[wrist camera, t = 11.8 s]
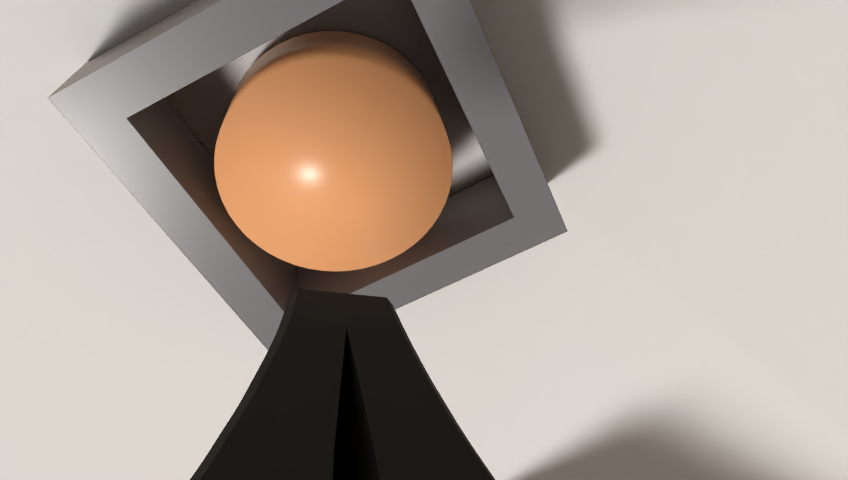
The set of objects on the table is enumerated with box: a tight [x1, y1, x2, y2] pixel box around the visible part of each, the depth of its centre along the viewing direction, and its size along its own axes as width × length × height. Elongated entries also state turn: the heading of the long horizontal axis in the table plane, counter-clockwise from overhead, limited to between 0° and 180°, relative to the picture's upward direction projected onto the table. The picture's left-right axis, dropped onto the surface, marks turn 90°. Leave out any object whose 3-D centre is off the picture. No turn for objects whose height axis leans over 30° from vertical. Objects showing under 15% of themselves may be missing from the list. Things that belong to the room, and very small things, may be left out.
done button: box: [214, 31, 453, 271], centre depth 14 cm, size 5×5×2 cm
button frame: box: [48, 0, 567, 350], centre depth 15 cm, size 8×8×2 cm
